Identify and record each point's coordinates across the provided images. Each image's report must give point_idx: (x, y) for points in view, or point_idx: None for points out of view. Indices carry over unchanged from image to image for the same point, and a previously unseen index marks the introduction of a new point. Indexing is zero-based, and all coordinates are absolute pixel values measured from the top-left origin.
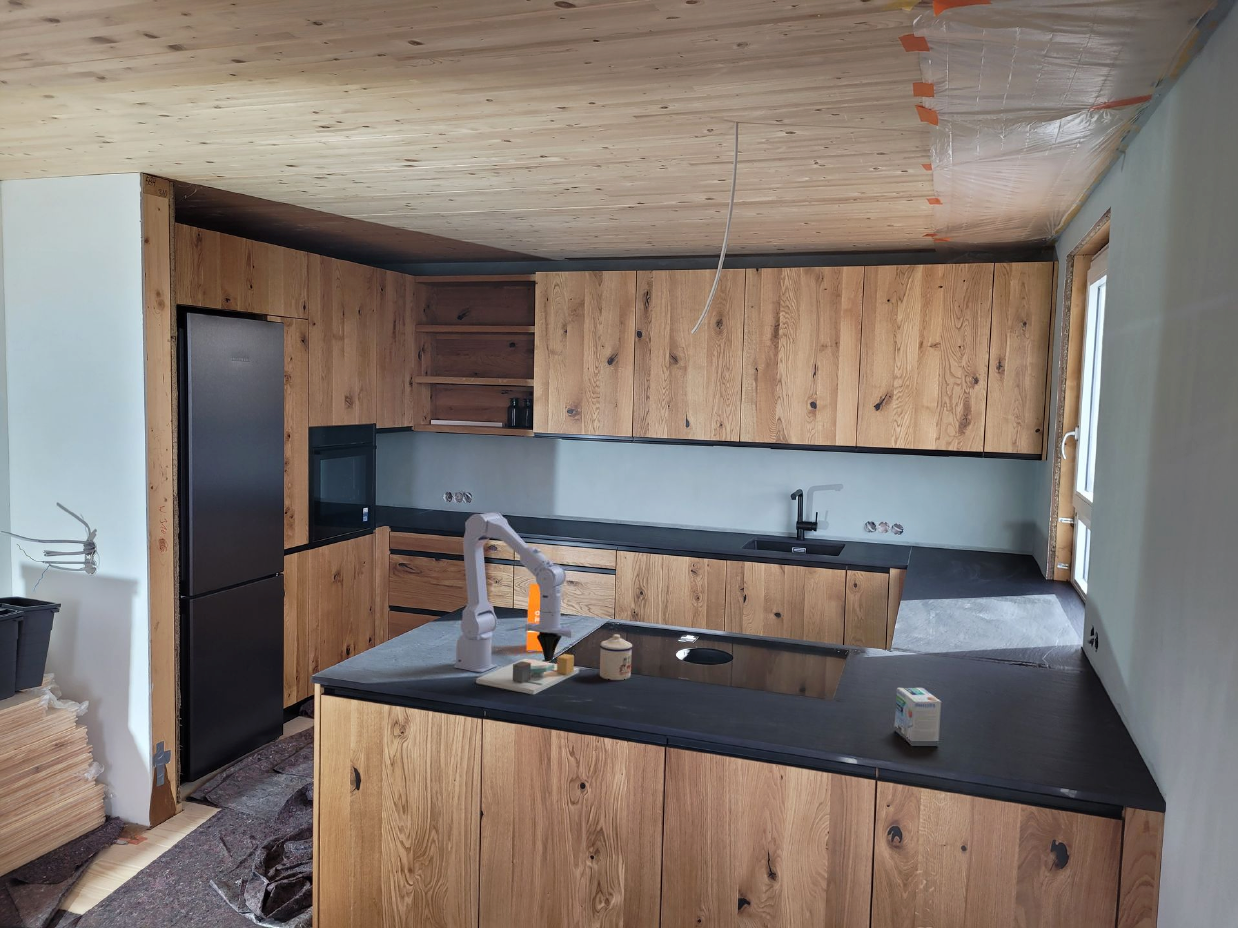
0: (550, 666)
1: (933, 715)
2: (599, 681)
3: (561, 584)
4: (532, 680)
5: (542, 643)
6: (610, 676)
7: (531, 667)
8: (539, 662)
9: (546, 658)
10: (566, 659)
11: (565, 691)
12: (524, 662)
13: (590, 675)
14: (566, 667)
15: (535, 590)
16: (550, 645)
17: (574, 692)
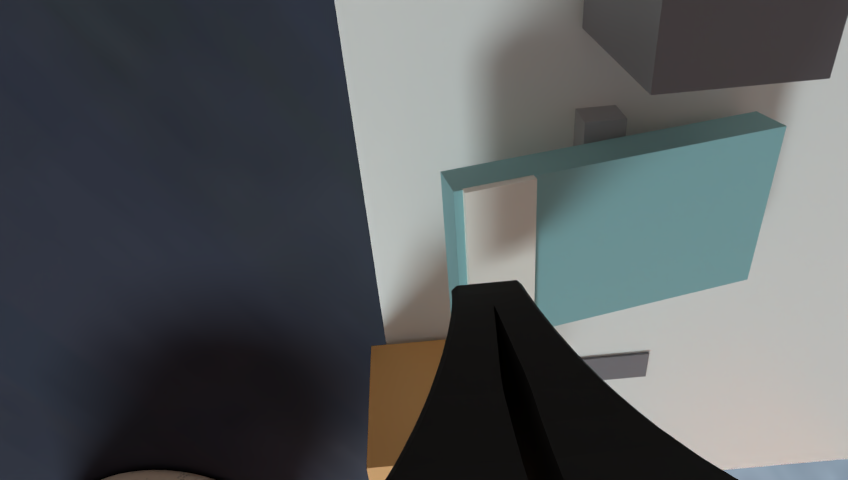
0: (457, 283)
1: None
2: (151, 414)
3: None
4: (544, 21)
5: (610, 450)
6: None
7: (691, 225)
8: (738, 445)
9: (489, 296)
10: (371, 459)
11: (120, 48)
12: (752, 49)
13: (302, 466)
14: (370, 394)
15: None
16: (405, 457)
17: (33, 79)
